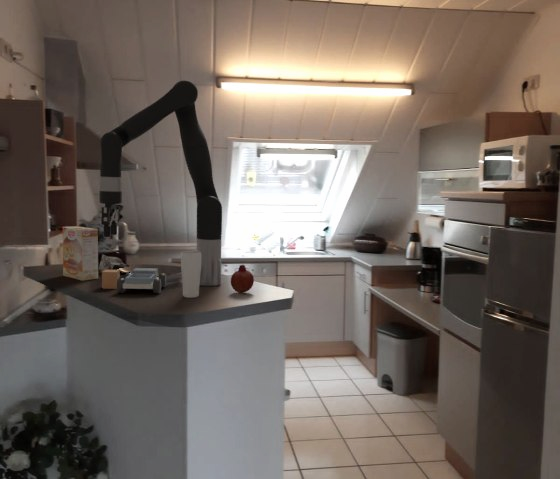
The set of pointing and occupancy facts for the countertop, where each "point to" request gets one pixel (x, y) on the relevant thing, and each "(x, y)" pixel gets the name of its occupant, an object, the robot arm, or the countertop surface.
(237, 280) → the fruit
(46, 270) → the countertop surface
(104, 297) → the countertop surface
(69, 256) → the coffeecake box
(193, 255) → the drinking glass
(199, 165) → the robot arm
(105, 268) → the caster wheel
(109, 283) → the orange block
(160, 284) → the chassis
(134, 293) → the countertop surface
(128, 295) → the countertop surface
